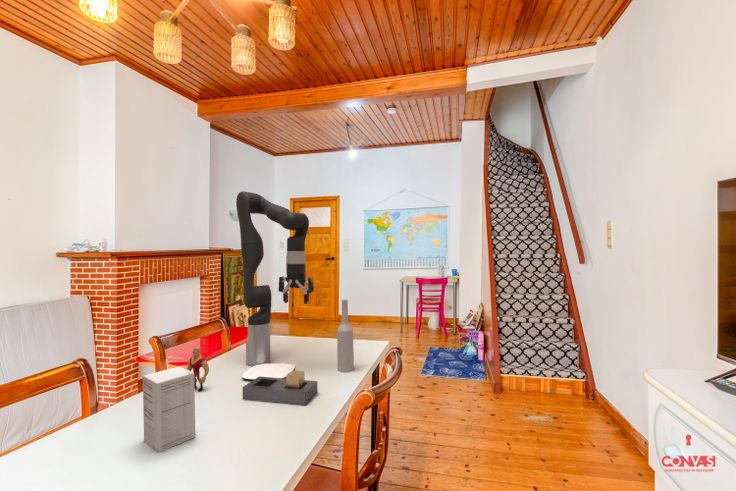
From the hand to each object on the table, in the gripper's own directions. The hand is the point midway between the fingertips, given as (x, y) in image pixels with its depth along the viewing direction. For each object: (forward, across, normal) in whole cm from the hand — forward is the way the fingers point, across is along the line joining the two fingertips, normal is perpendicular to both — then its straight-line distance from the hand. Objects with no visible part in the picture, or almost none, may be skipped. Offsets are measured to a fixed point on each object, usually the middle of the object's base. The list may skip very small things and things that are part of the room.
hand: (296, 303), depth 143 cm
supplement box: (+27, -9, -55) cm, 62 cm away
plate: (+28, -9, -5) cm, 30 cm away
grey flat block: (+27, +6, -24) cm, 36 cm away
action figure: (+28, -26, -25) cm, 45 cm away
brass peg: (+27, +12, -24) cm, 38 cm away
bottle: (+27, +19, +6) cm, 34 cm away
